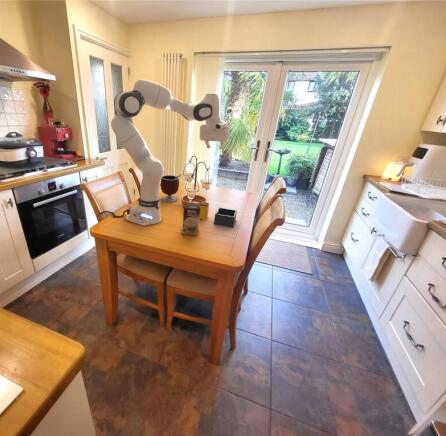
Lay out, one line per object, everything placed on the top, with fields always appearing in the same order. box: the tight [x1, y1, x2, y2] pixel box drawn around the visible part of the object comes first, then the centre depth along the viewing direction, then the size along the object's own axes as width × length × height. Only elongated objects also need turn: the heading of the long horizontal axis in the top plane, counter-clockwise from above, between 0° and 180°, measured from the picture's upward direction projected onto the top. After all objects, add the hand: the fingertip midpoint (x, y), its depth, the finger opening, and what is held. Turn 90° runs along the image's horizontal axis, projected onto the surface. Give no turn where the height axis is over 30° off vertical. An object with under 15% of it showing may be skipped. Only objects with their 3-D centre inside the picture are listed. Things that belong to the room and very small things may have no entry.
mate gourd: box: [160, 174, 182, 203], centre depth 176 cm, size 16×14×20 cm
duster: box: [199, 201, 210, 221], centre depth 149 cm, size 5×5×10 cm
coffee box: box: [181, 203, 201, 236], centre depth 129 cm, size 9×6×16 cm
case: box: [213, 207, 238, 228], centre depth 145 cm, size 12×12×7 cm
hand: (214, 148), depth 143 cm, fingers open, 8 cm apart
